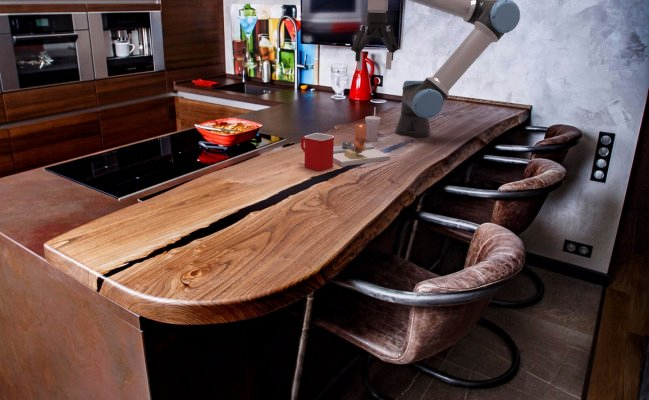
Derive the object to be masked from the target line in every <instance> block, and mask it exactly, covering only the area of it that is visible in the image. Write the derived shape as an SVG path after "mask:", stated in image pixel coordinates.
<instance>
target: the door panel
mask: <svg viewBox="0 0 649 400" xmlns="http://www.w3.org/2000/svg"><path fill="white" fill-rule="evenodd" d="M390 157H391V156H390V155H389V154H387V153H386V152H382V151H381V150H378V149H376V148H374V149H370V150H365V151H362V153H356V152H354V151H352V150H350V149H346V150H344V153H337V154H333V163H334V164H337V165H338V166H340V167H348V166H354V165H361V164H363V165H364V164H369V163H377V162H385V161H390Z"/></svg>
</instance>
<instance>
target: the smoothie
mask: <svg viewBox="0 0 649 400" xmlns="http://www.w3.org/2000/svg"><path fill="white" fill-rule="evenodd" d="M376 108H377V107H376V106H374V109H373V111H374V112H373V115H370V116H369V115H368V116H365V125H367V127H366V142H369V143H375V142H377V139H378V133H379V128H380V124H381V123H380V122H382V120H381V119H382V118H381V117H380V116H376V110H377V109H376Z"/></svg>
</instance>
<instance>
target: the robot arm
mask: <svg viewBox="0 0 649 400" xmlns="http://www.w3.org/2000/svg"><path fill="white" fill-rule="evenodd" d="M408 1H409V2H412V3H416V4H419V5H421V6H425V7H429V8H431V9H434V10H437V11H440V12H443V13H447V14H449V15H453V16H455V17H458V18H462V20H463V22H465V23H468V24H471V25H474V28H473V30H472V31H471V32H470V33H469V34H468V35H467V37H465V39H464V40H463V41H462V42H461V43H460V44H459V46H458V47H457V48H456V49H455V50H454V51H453V53H452V54H451V55H449V58H447V59H446V61H445V62H444V63H443V64H442V65H441V66H440V68H439V69H438V70H437V71H436V72H435V74H433V75H432V76H430V77H426V78H425V79H424V80H405V81H404V82H403V84H402V85H403V86H402V97H401V105H400V106H401V107H400V108H401V109H400V116H399V119H398V121H397V124H396V126H395V134H396V135H398V136H401V137H407V138H426V137H429V136H430V135H431V128H430V123H429V122H430V121H429V119H431V118H434V117H436V116H438V115H439V114H440V113H441V112H442V111H443V107H444V103H445V101H446V100H447V99H448V98H449V92H450V90H451V89H452V88H453V87H454V85H456V83H457V82H458V81H459V80H460V79H461V78H462V76H463V75H464V74H465V73H466V72H467V71H468V69H469V68H470V67H471V66H472V65H473V64H474V63H475V62H476V61H477V59H478V58H479V57H480V56H481V55H482V54H483V53H484V51H486V49H487V48H488V47H489V46H490V45H491V44H493V43H498V42H499V41H500V39H501V38H503V36H504V35H505V34H507V33H510V32H512V31H513V30H514V29H515V28H516V27H517V26H518V25H519V22H520V19H521V11H520V7H519V6H518V4H517V3H516V2H515V1H513V0H408ZM388 9H389V0H367V11H368V12H367V14H366V23H367V24H366V25H364V24H361V25H359V28H358V32H357V35H356V37H355V40H354V42H353V44H352V46H351V48H350V50H351V51H352V52H354V53H355V54H354V55H355V58H354V59H355V62H356V71H360V72H361V71H362V70H363V55H364V53H363V52H362V51H363V50H364V49H365V47H366V46H367V44H368V43H369V41H370V40H372V39H381V41H382V42H383V45H384V46H385V47H386V49H387V51H386V54H385V55H386V57H385V70H390V71H391V70H392V61H394V54H395V53H396V52H397V51H398V50H399V46H398V43H397V40H396V35H395V34H394V26H393V25H387V22H388V13H387V12H388V11H389V10H388ZM365 33H366V34H365ZM386 33H387V34H386ZM364 35H365V36H364Z"/></svg>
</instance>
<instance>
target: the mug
mask: <svg viewBox="0 0 649 400" xmlns="http://www.w3.org/2000/svg"><path fill="white" fill-rule="evenodd" d="M334 140H335V136H334V135H331V134H327V133H326V134H325V133H322V132H321V133H320V132H314V133H311V134H307V135H304V136H303V137H301V138H300V148H301V150H302V152H303V153H304V168H306V169H308V170H309V169H310V170H313V171H317V172H322V171H323V172H324V171H326V170H329V169H332V168H333V167H334V162H333V147H334V146H335V145H334V144H335V141H334Z"/></svg>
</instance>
